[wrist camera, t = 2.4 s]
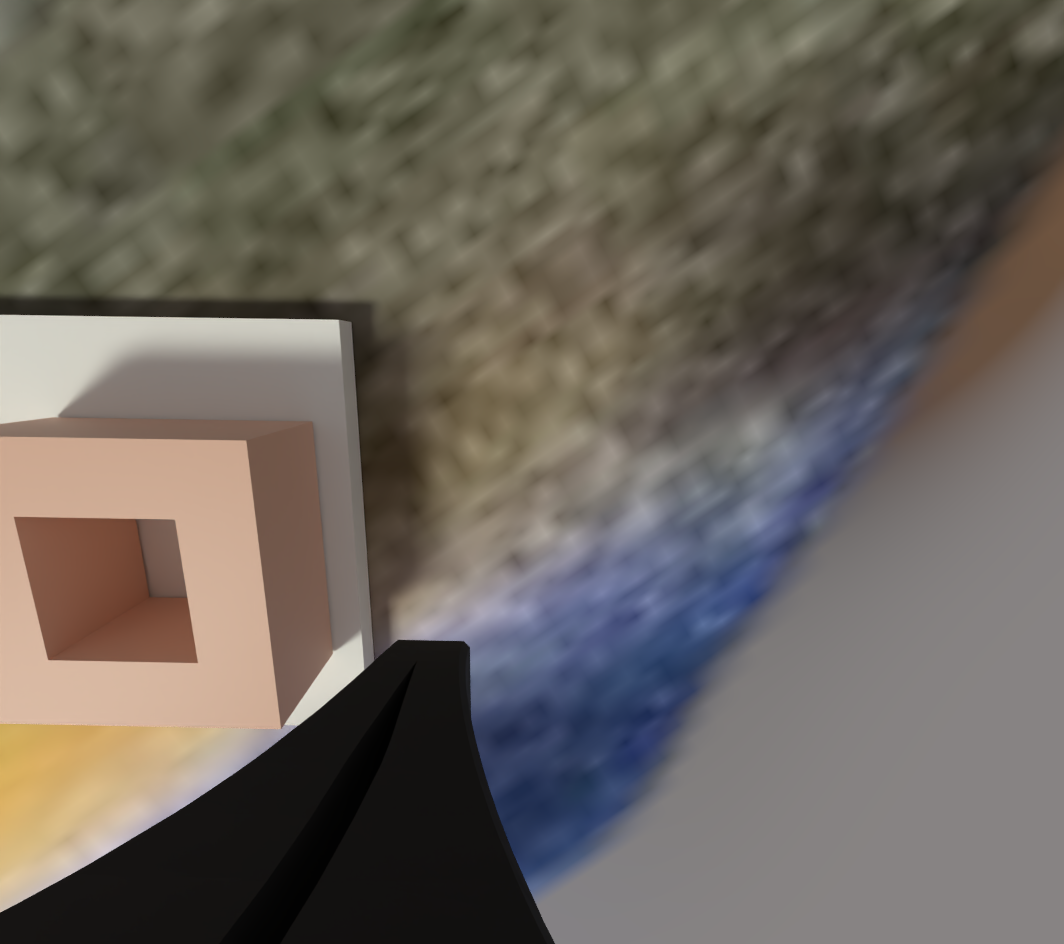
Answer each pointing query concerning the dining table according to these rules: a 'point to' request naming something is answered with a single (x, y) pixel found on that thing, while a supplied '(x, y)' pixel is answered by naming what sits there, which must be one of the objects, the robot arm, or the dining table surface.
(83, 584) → the sliding block
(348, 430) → the base board
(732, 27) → the dining table surface
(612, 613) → the dining table surface
